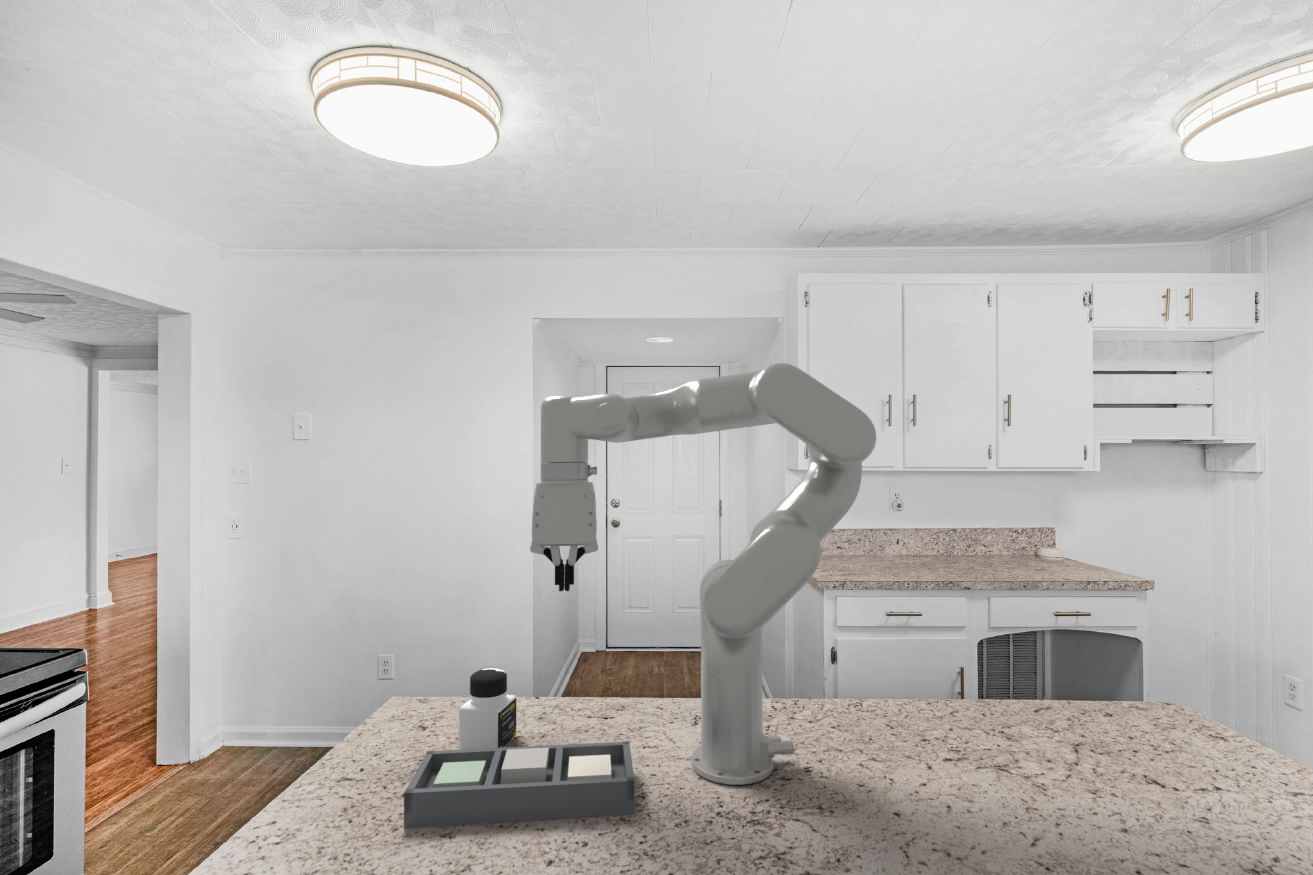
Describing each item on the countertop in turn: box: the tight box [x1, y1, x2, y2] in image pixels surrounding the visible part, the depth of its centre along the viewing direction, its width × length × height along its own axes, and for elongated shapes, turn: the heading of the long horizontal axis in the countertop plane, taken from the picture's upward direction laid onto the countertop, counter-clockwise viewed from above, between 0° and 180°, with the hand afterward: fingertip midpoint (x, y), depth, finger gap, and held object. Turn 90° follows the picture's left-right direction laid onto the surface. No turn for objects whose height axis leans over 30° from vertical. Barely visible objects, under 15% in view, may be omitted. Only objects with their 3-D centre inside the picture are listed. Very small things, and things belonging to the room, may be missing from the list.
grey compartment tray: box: [403, 741, 636, 829], centre depth 91 cm, size 30×12×4 cm, turn 96°
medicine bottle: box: [458, 667, 517, 750], centre depth 108 cm, size 7×7×12 cm
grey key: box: [501, 748, 549, 784], centre depth 91 cm, size 6×6×2 cm
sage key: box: [433, 761, 486, 788], centre depth 90 cm, size 6×6×2 cm
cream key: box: [568, 755, 611, 781], centre depth 92 cm, size 6×6×2 cm
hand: (564, 589), depth 102 cm, fingers closed
